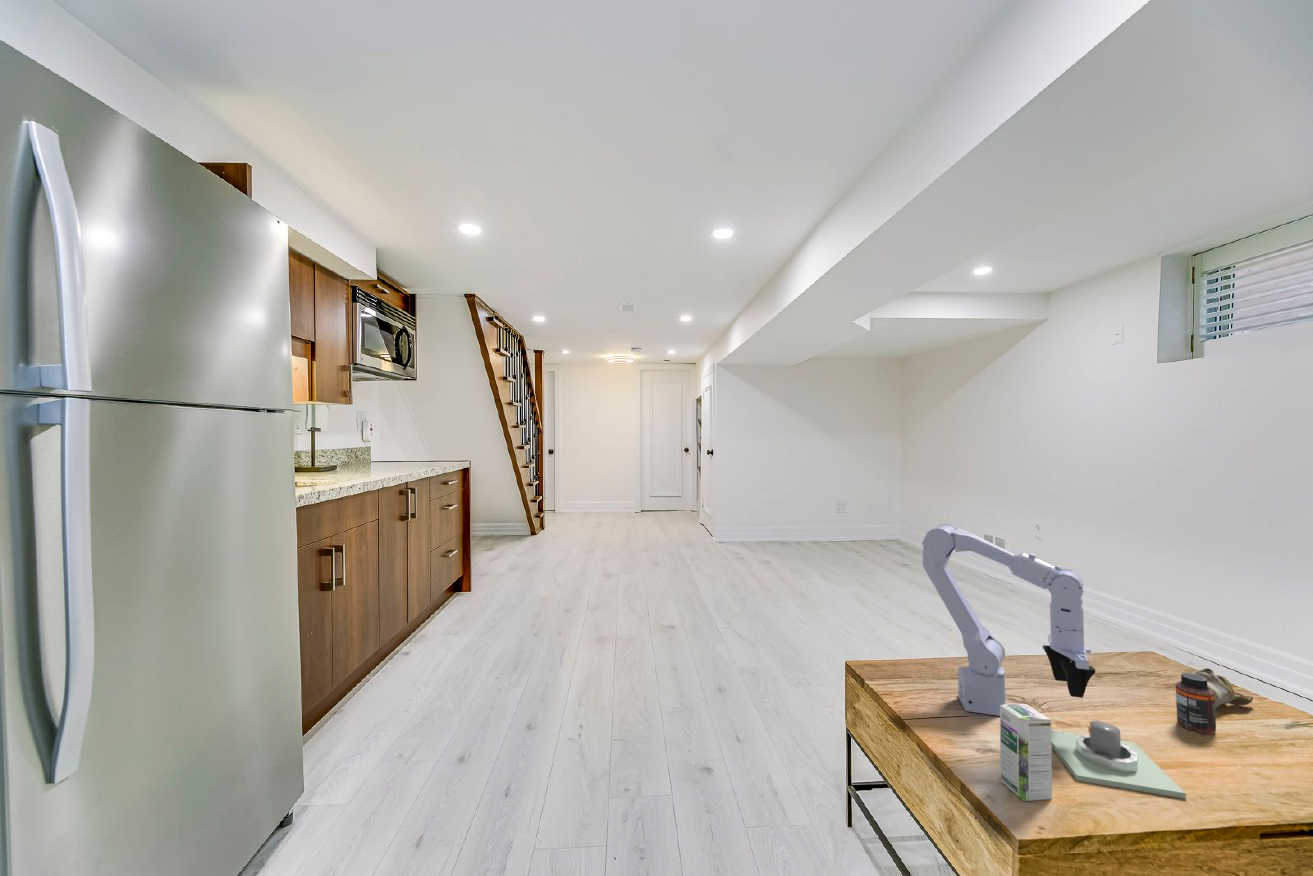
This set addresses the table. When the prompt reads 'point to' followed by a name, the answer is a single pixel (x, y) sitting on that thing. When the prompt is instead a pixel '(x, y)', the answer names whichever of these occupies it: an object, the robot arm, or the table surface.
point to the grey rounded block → (1105, 739)
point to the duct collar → (1107, 762)
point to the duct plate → (1142, 780)
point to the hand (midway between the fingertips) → (1068, 688)
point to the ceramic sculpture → (1223, 689)
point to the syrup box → (1025, 752)
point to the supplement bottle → (1195, 704)
